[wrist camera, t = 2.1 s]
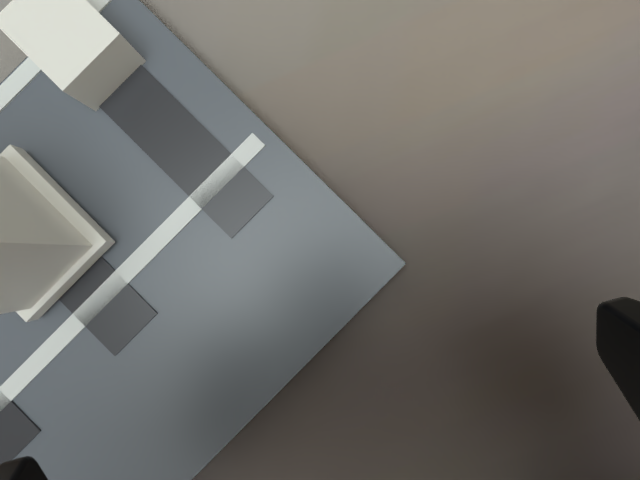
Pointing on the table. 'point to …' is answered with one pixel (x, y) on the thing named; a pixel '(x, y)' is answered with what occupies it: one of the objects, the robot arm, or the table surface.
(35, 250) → the block
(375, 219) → the table surface
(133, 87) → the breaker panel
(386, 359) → the table surface
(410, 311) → the table surface
